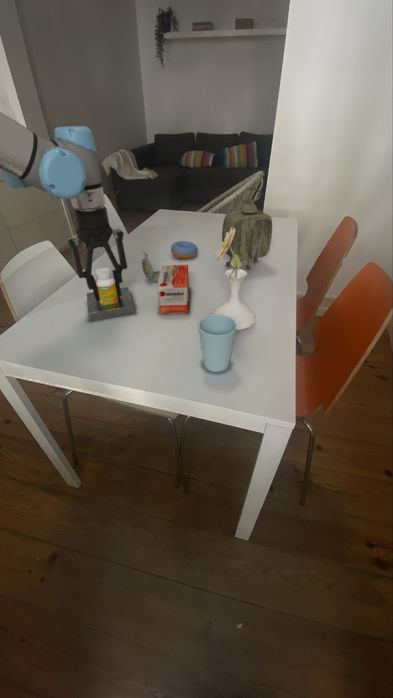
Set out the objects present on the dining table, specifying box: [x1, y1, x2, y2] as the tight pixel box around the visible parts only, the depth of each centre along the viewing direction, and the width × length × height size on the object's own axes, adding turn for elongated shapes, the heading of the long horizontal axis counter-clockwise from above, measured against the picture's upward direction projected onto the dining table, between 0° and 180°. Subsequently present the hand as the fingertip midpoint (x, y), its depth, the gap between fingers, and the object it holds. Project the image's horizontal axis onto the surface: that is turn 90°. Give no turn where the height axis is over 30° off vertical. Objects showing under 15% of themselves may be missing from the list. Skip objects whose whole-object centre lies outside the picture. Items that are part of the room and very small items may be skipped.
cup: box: [197, 314, 237, 373], centre depth 67 cm, size 8×8×10 cm
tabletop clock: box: [221, 186, 273, 270], centre depth 103 cm, size 14×9×25 cm, turn 111°
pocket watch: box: [141, 250, 160, 283], centre depth 101 cm, size 8×8×10 cm
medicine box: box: [156, 264, 190, 314], centre depth 90 cm, size 15×8×8 cm, turn 1°
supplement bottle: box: [94, 267, 120, 306], centre depth 86 cm, size 5×5×10 cm
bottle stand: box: [86, 286, 135, 322], centre depth 89 cm, size 12×12×2 cm
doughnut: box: [170, 240, 199, 260], centre depth 118 cm, size 10×10×5 cm
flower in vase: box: [211, 227, 256, 332], centre depth 74 cm, size 13×11×25 cm
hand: (108, 296), depth 88 cm, fingers closed on supplement bottle, 5 cm apart
